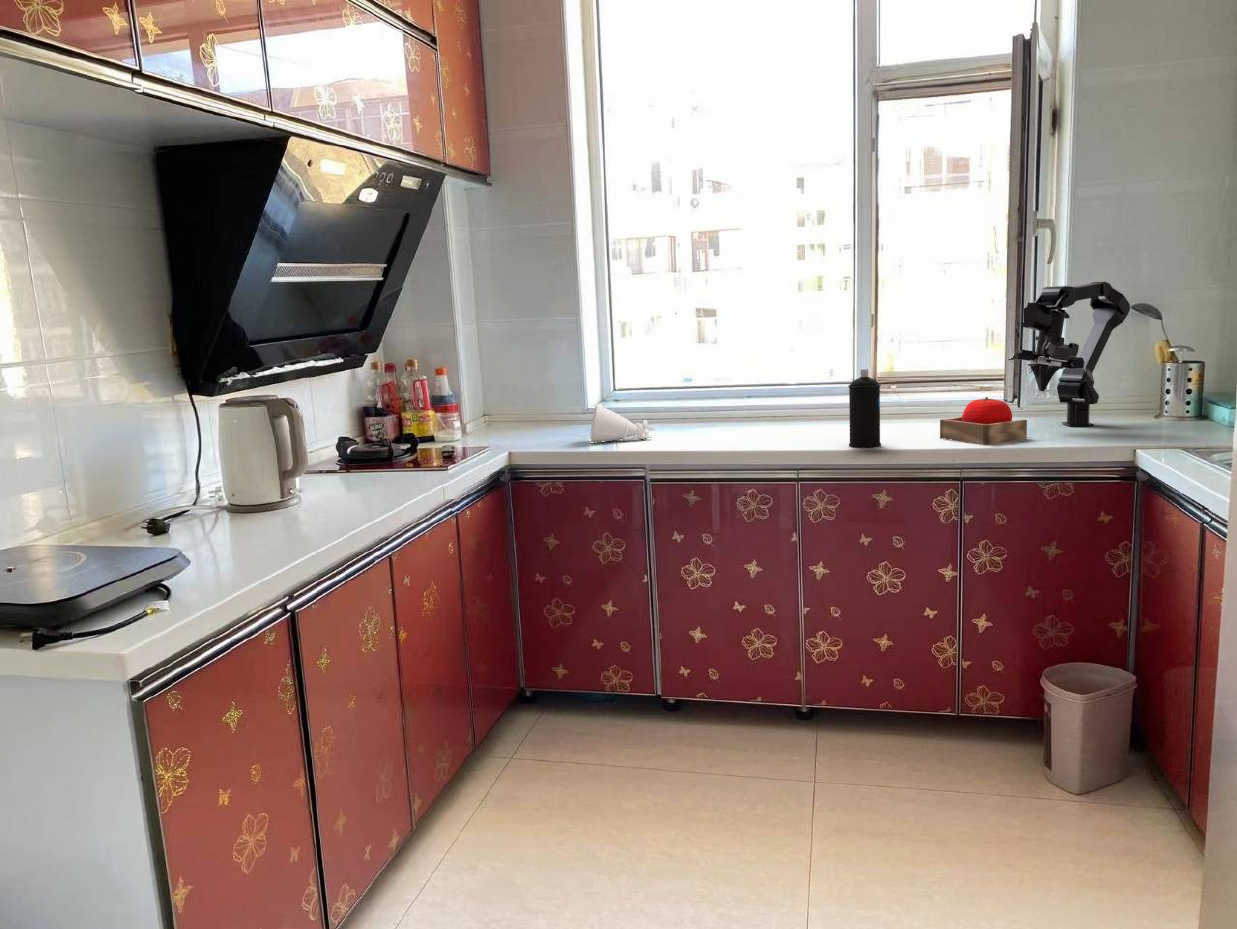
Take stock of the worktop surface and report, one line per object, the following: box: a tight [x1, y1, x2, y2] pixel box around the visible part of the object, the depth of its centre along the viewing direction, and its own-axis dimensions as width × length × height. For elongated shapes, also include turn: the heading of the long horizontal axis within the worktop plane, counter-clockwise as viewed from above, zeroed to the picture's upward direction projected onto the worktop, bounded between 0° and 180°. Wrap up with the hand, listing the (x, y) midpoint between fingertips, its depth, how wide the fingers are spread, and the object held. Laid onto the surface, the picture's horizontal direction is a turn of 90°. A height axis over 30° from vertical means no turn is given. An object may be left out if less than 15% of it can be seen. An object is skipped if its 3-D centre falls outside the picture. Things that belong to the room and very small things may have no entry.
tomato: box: [961, 396, 1013, 424], centre depth 254 cm, size 11×12×10 cm
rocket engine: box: [589, 404, 655, 442], centre depth 282 cm, size 12×12×18 cm
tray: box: [939, 416, 1028, 446], centre depth 253 cm, size 14×16×5 cm
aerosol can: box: [847, 368, 882, 449], centre depth 251 cm, size 8×8×20 cm
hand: (1041, 391), depth 259 cm, fingers closed
